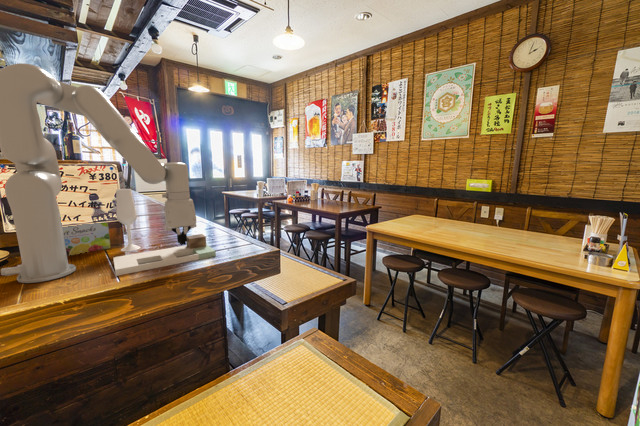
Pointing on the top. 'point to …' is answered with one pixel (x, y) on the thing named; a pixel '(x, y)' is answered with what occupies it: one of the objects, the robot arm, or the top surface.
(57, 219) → the robot arm
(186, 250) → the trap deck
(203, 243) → the walnut block
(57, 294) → the top surface
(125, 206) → the champagne flute
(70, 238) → the snack box
